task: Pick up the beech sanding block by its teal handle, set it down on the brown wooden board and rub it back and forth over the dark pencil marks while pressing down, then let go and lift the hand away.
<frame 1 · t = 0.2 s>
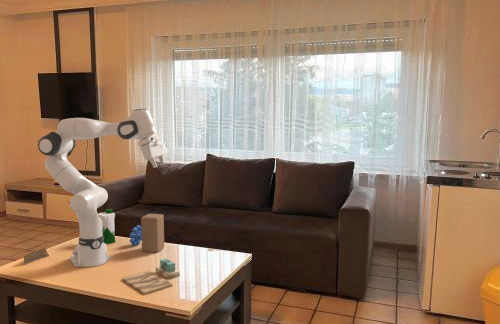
hand: (159, 166, 207), 52 cm above the table, tool tilted 20°, fingers open, 8 cm apart
sanding block: (167, 274, 203), on the table
wood plank: (36, 261, 221), on the table
wooden block: (153, 250, 239), on the table
wooden board: (146, 282, 192), on the table
grapes: (136, 245, 248), on the table
milk carton: (106, 242, 252), on the table
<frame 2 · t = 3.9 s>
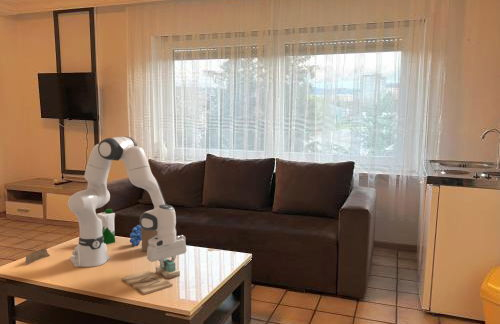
hand: (167, 266, 203), 4 cm above the table, tool pointing down, fingers closed on sanding block, 3 cm apart
sanding block: (167, 273, 203), on the table, touching gripper
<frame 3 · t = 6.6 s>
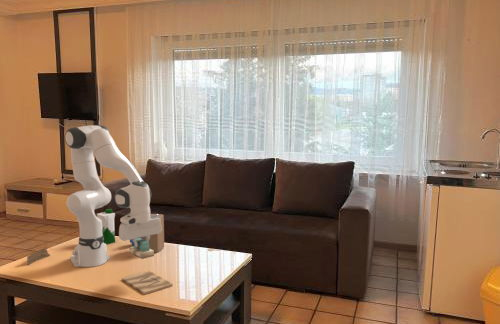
hand: (141, 245, 193), 17 cm above the table, tool pointing down, fingers closed on sanding block, 3 cm apart
sanding block: (141, 254, 194), point 13 cm above the table, touching gripper
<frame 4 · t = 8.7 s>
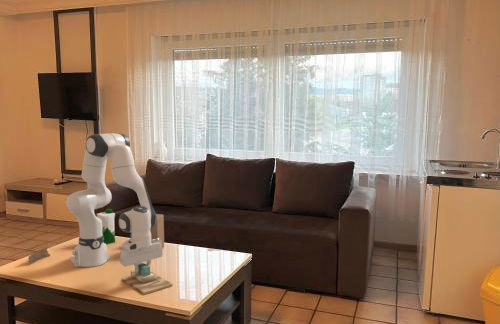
hand: (142, 270, 194), 5 cm above the table, tool pointing down, fingers closed on sanding block, 3 cm apart
sanding block: (142, 278, 195), point 1 cm above the table, touching gripper, wooden board
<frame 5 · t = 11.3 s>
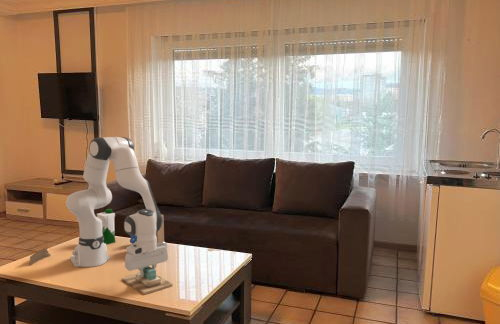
hand: (147, 274, 191), 4 cm above the table, tool pointing down, fingers closed on sanding block, 3 cm apart
sanding block: (148, 281, 191), point 1 cm above the table, touching gripper, wooden board
when the fingers open (5 cm above the table, at t = 15.1 s): sanding block stays where it is, resting on wooden board.
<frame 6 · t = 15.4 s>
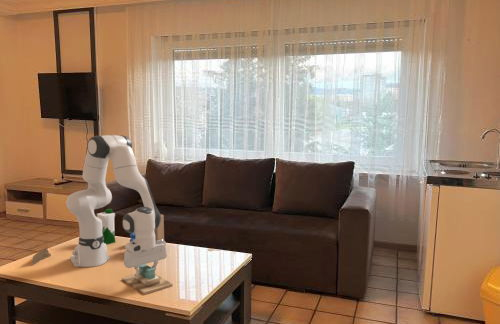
hand: (146, 272, 191), 5 cm above the table, tool pointing down, fingers open, 6 cm apart
sanding block: (147, 281, 191), point 1 cm above the table, touching wooden board
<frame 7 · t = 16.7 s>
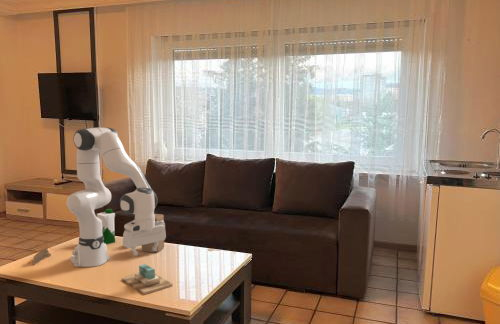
hand: (145, 253, 191), 14 cm above the table, tool pointing down, fingers open, 8 cm apart
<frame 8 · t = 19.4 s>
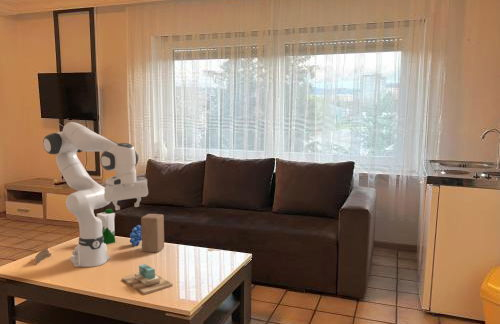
hand: (127, 208, 192), 34 cm above the table, tool pointing down, fingers open, 8 cm apart
at the end: sanding block inside the target area on the wooden board (0.6 cm from its centre), point 1.0 cm above the wooden board's base; sanding block tilted 0°; the gripper is holding nothing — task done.
